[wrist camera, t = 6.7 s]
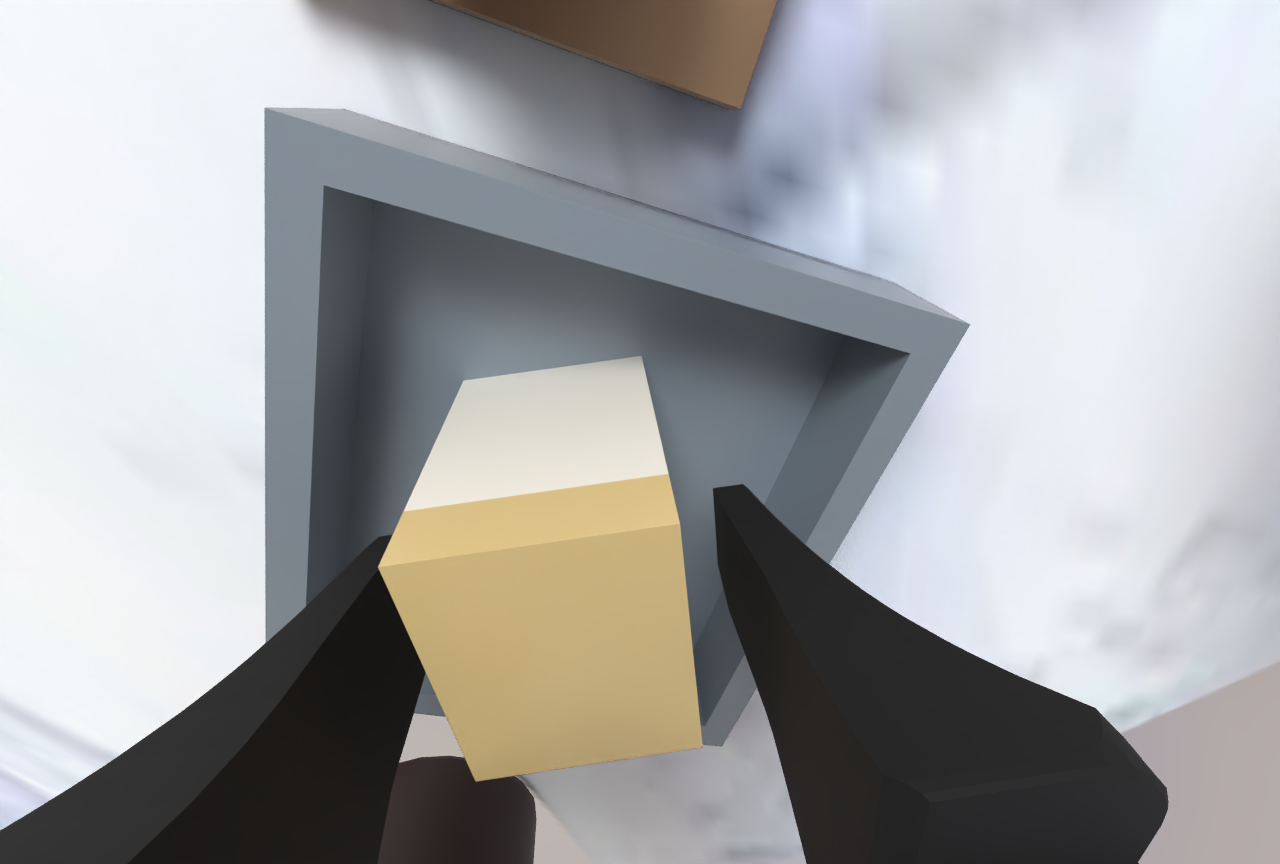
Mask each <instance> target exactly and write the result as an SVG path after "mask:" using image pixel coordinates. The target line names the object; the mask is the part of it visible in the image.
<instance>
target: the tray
mask: <svg viewBox="0 0 1280 864" xmlns="http://www.w3.org/2000/svg"><path fill="white" fill-rule="evenodd" d="M969 325H970V324H968V323H967V322H965V321H963V320H961V319H959V318H957V317H956V316H954V315H952V314H950V313H948V312H947V311H945V310H943V309H941V308H939V307H937V306H936V305H934V304H932V303H930V302H928V301H927V300H925V299H923V298H921V297H919V296H917V295H916V294H914V293H912V292H910V291H908V290H906V289H905V288H903V287H901V286H899V285H897V284H896V283H894V282H891V281H888V280H885V279H881V278H878V277H875V276H872V275H869V274H866V273H862V272H859V271H856V270H853V269H850V268H847V267H843V266H840V265H837V264H834V263H831V262H828V261H824V260H821V259H818V258H815V257H812V256H809V255H805V254H802V253H799V252H796V251H793V250H790V249H786V248H783V247H780V246H777V245H774V244H770V243H767V242H764V241H761V240H758V239H755V238H751V237H748V236H745V235H742V234H739V233H736V232H732V231H729V230H726V229H723V228H720V227H717V226H713V225H710V224H707V223H704V222H701V221H698V220H694V219H691V218H688V217H685V216H682V215H678V214H675V213H672V212H669V211H666V210H663V209H659V208H656V207H653V206H650V205H647V204H644V203H640V202H637V201H634V200H631V199H628V198H625V197H621V196H618V195H615V194H612V193H609V192H606V191H602V190H599V189H596V188H593V187H590V186H587V185H583V184H580V183H577V182H574V181H571V180H567V179H564V178H561V177H558V176H555V175H552V174H548V173H545V172H542V171H539V170H536V169H533V168H529V167H526V166H523V165H520V164H517V163H514V162H510V161H507V160H504V159H501V158H498V157H495V156H491V155H488V154H485V153H482V152H479V151H475V150H472V149H469V148H466V147H463V146H460V145H456V144H453V143H450V142H447V141H444V140H441V139H437V138H434V137H431V136H428V135H425V134H422V133H418V132H415V131H412V130H409V129H406V128H403V127H399V126H396V125H393V124H390V123H387V122H384V121H380V120H377V119H374V118H371V117H368V116H364V115H361V114H358V113H355V112H352V111H349V110H345V109H313V108H265V547H266V642H267V641H269V640H270V639H271V638H272V637H273V636H274V635H275V634H276V633H277V632H279V631H280V630H281V629H282V628H283V627H284V626H285V625H286V624H287V623H289V622H290V621H291V620H292V619H293V618H294V617H295V616H296V615H297V614H298V613H299V612H301V611H302V610H303V609H304V608H305V607H306V606H307V605H308V604H309V603H310V602H311V601H312V600H313V599H314V598H315V597H316V596H317V595H318V594H319V593H320V592H321V591H322V590H323V589H324V588H325V587H326V586H327V585H328V584H330V583H331V582H332V581H333V580H334V579H335V578H336V577H337V576H338V575H339V574H340V573H341V572H342V571H343V570H344V569H345V568H346V567H347V566H348V565H349V564H350V563H351V562H352V561H353V560H354V559H355V558H356V557H357V556H358V555H359V554H360V553H361V552H362V551H363V550H364V549H365V548H367V547H368V546H369V545H370V544H371V543H372V542H373V541H374V540H376V539H377V538H378V537H379V536H386V535H393V533H394V531H395V529H396V527H397V525H398V522H399V520H400V518H401V516H402V514H403V511H404V509H405V507H406V505H407V503H408V501H409V498H410V496H411V494H412V492H413V490H414V487H415V485H416V483H417V481H418V479H419V477H420V474H421V472H422V470H423V468H424V466H425V463H426V461H427V459H428V457H429V455H430V453H431V450H432V448H433V446H434V444H435V442H436V439H437V437H438V435H439V433H440V431H441V429H442V426H443V424H444V422H445V420H446V418H447V415H448V413H449V411H450V409H451V407H452V405H453V402H454V400H455V398H456V396H457V394H458V391H459V389H460V387H461V385H462V383H463V381H464V380H472V379H479V378H486V377H493V376H500V375H508V374H515V373H522V372H529V371H536V370H544V369H551V368H558V367H565V366H572V365H579V364H587V363H594V362H601V361H608V360H615V359H623V358H630V357H637V356H642V360H643V365H644V369H645V373H646V378H647V382H648V386H649V391H650V395H651V399H652V404H653V408H654V413H655V417H656V421H657V426H658V430H659V434H660V439H661V443H662V447H663V452H664V456H665V461H666V465H667V469H668V474H669V478H670V482H671V487H672V491H673V495H674V500H675V504H676V508H677V513H678V517H679V522H680V529H681V539H682V548H683V558H684V568H685V578H686V588H687V598H688V608H689V617H690V627H691V637H692V647H693V657H694V667H695V677H696V686H697V696H698V706H699V716H700V726H701V736H702V744H704V745H713V746H723V744H724V742H725V740H726V739H727V737H728V735H729V734H730V732H731V730H732V729H733V727H734V725H735V723H736V722H737V720H738V718H739V717H740V715H741V713H742V712H743V710H744V708H745V706H746V705H747V703H748V701H749V700H750V698H751V696H752V695H753V693H754V691H755V689H756V688H757V686H756V683H755V680H754V678H753V675H752V672H751V669H750V667H749V664H748V661H747V659H746V656H745V653H744V650H743V648H742V645H741V642H740V639H739V637H738V634H737V631H736V628H735V626H734V623H733V620H732V617H731V615H730V612H729V609H728V605H727V601H726V597H725V593H724V589H723V584H722V580H721V576H720V572H719V568H718V560H717V545H716V530H715V514H714V499H713V488H718V487H725V486H732V485H739V484H743V485H745V486H746V487H747V488H749V490H750V491H751V492H752V493H753V494H754V495H755V496H756V497H757V498H758V499H759V500H760V501H761V502H762V503H763V504H764V506H765V507H766V508H767V509H768V510H769V511H770V512H771V513H772V514H773V515H774V516H775V517H776V518H777V519H778V520H780V521H781V522H782V523H783V524H784V525H785V526H786V527H787V528H788V529H789V530H790V531H791V532H792V533H793V534H794V535H796V536H797V537H798V538H799V539H800V540H801V541H802V542H803V543H804V544H806V545H807V546H808V547H809V548H810V549H811V550H812V551H814V552H815V553H816V554H817V555H818V556H820V557H821V558H822V559H823V560H824V561H826V562H827V563H828V564H830V562H831V560H832V558H833V557H834V555H835V553H836V552H837V550H838V548H839V547H840V545H841V543H842V541H843V540H844V538H845V536H846V535H847V533H848V531H849V530H850V528H851V526H852V524H853V523H854V521H855V519H856V518H857V516H858V514H859V513H860V511H861V509H862V507H863V506H864V504H865V502H866V501H867V499H868V497H869V496H870V494H871V492H872V490H873V489H874V487H875V485H876V484H877V482H878V480H879V479H880V477H881V475H882V473H883V472H884V470H885V468H886V467H887V465H888V463H889V462H890V460H891V458H892V456H893V455H894V453H895V451H896V450H897V448H898V446H899V445H900V443H901V441H902V439H903V438H904V436H905V434H906V433H907V431H908V429H909V427H910V426H911V424H912V422H913V421H914V419H915V417H916V416H917V414H918V412H919V410H920V409H921V407H922V405H923V404H924V402H925V400H926V399H927V397H928V395H929V393H930V392H931V390H932V388H933V387H934V385H935V383H936V382H937V380H938V378H939V376H940V375H941V373H942V371H943V370H944V368H945V366H946V365H947V363H948V361H949V359H950V358H951V356H952V354H953V353H954V351H955V349H956V348H957V346H958V344H959V342H960V341H961V339H962V337H963V336H964V334H965V332H966V331H967V329H968V327H969ZM414 713H417V714H426V715H435V716H445V717H446V715H445V713H444V711H443V709H442V707H441V704H440V702H439V700H438V698H437V696H436V693H435V691H434V689H433V687H432V685H431V682H430V680H429V678H428V676H427V674H425V677H424V681H423V684H422V687H421V691H420V694H419V697H418V701H417V704H416V707H415V711H414Z"/></svg>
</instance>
